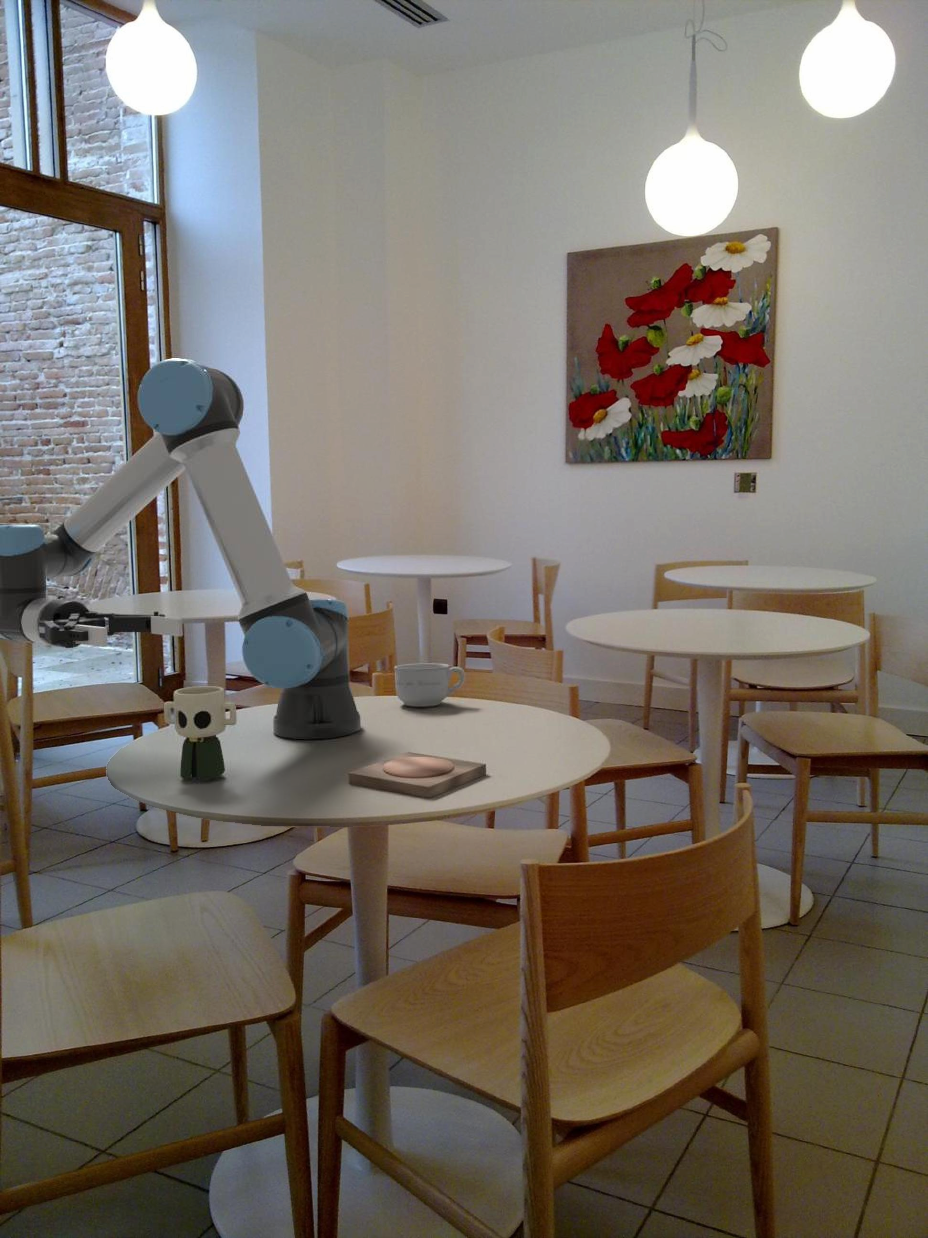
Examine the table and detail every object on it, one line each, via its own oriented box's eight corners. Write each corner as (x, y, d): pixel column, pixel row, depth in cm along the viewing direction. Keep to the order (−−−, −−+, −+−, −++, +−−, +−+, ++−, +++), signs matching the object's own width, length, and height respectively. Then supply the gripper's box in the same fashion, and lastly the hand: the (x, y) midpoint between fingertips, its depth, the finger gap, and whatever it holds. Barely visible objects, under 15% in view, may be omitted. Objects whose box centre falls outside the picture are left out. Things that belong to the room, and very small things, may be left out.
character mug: (156, 784, 143) (151, 694, 141) (177, 771, 150) (173, 685, 148) (229, 786, 141) (225, 695, 140) (247, 772, 148) (244, 686, 147)
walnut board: (409, 761, 153) (408, 749, 153) (486, 774, 145) (485, 761, 145) (348, 783, 142) (348, 770, 141) (429, 798, 134) (428, 784, 134)
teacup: (385, 708, 194) (384, 667, 193) (409, 698, 204) (408, 659, 203) (452, 713, 189) (451, 671, 188) (473, 702, 199) (472, 662, 198)
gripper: (124, 637, 172) (209, 647, 160) (-15, 655, 151) (71, 668, 139) (122, 593, 171) (208, 600, 159) (-18, 606, 150) (68, 614, 139)
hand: (144, 632), depth 149 cm, fingers open, 13 cm apart
